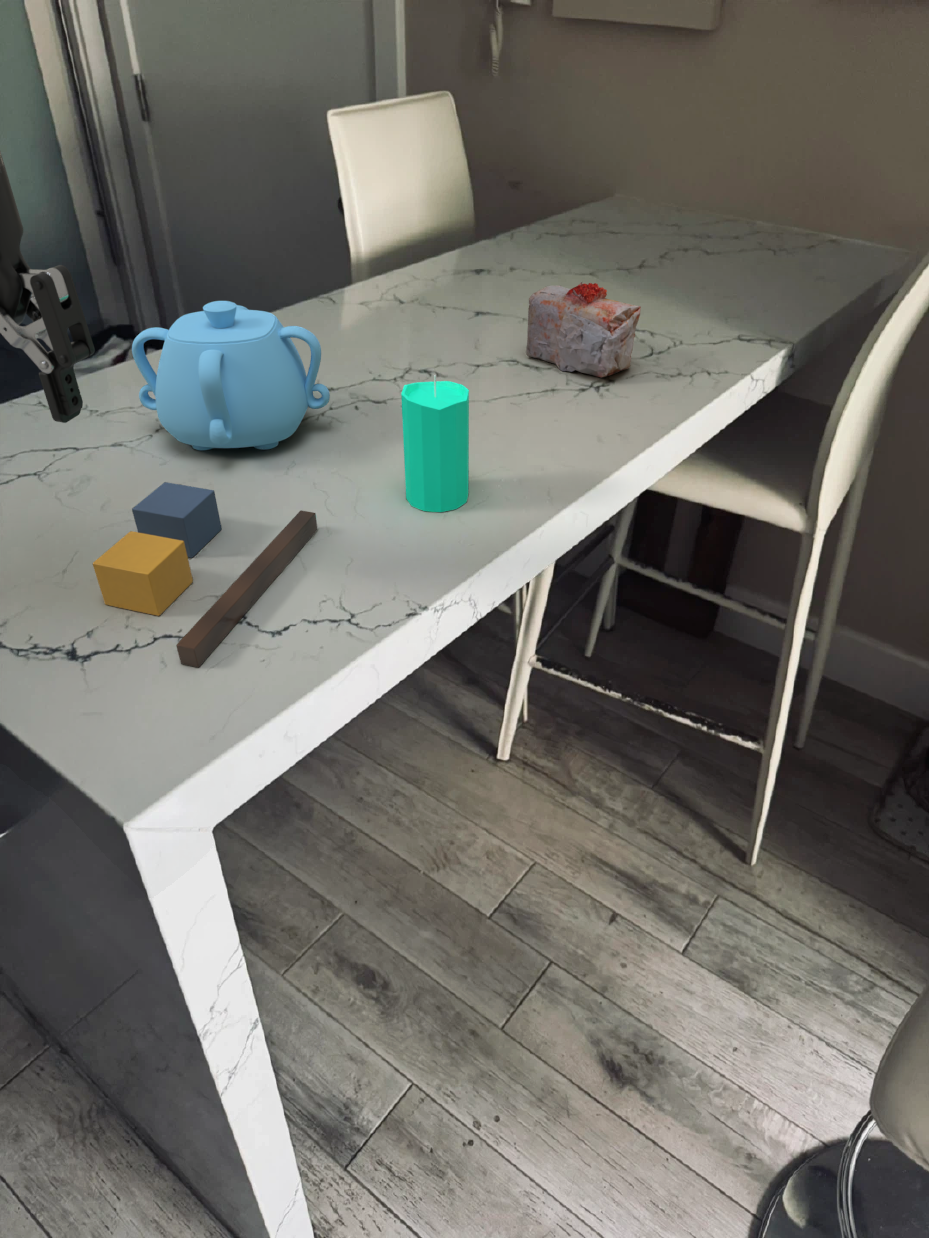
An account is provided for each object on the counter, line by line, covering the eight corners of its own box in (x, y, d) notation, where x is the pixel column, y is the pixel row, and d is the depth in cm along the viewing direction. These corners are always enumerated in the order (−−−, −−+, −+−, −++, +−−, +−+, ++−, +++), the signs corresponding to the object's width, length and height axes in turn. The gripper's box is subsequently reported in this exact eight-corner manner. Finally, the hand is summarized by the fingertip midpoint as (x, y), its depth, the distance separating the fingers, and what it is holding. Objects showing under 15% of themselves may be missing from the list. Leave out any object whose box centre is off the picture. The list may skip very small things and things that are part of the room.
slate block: (192, 558, 75) (183, 518, 72) (141, 548, 76) (131, 508, 73) (222, 529, 78) (214, 489, 76) (173, 520, 80) (164, 481, 77)
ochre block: (159, 616, 68) (147, 574, 66) (104, 605, 69) (91, 563, 67) (193, 581, 72) (184, 540, 69) (141, 571, 73) (130, 530, 71)
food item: (642, 368, 109) (652, 287, 103) (608, 388, 104) (616, 304, 98) (552, 343, 116) (557, 266, 110) (516, 361, 111) (519, 281, 105)
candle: (395, 505, 82) (388, 382, 75) (421, 476, 86) (417, 358, 79) (454, 517, 80) (453, 393, 73) (478, 487, 84) (479, 368, 77)
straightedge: (198, 668, 63) (193, 649, 62) (180, 664, 64) (175, 644, 62) (317, 530, 78) (315, 512, 77) (302, 527, 79) (300, 510, 78)
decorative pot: (270, 389, 104) (253, 271, 95) (345, 434, 94) (333, 306, 86) (139, 427, 95) (107, 301, 87) (206, 481, 85) (178, 344, 77)
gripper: (-206, 168, 52) (-99, 418, 62) (-15, 183, 49) (67, 446, 59) (-106, 146, 58) (-22, 379, 68) (73, 158, 55) (134, 402, 64)
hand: (19, 410), depth 63 cm, fingers open, 8 cm apart
